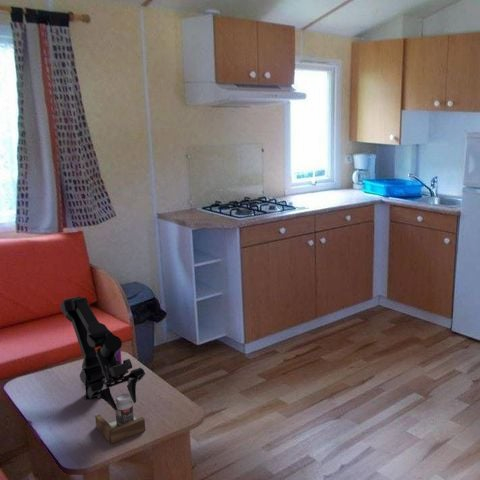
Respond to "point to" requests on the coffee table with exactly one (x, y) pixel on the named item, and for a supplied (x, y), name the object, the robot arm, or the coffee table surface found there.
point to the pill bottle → (124, 409)
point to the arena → (119, 428)
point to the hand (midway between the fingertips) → (125, 406)
